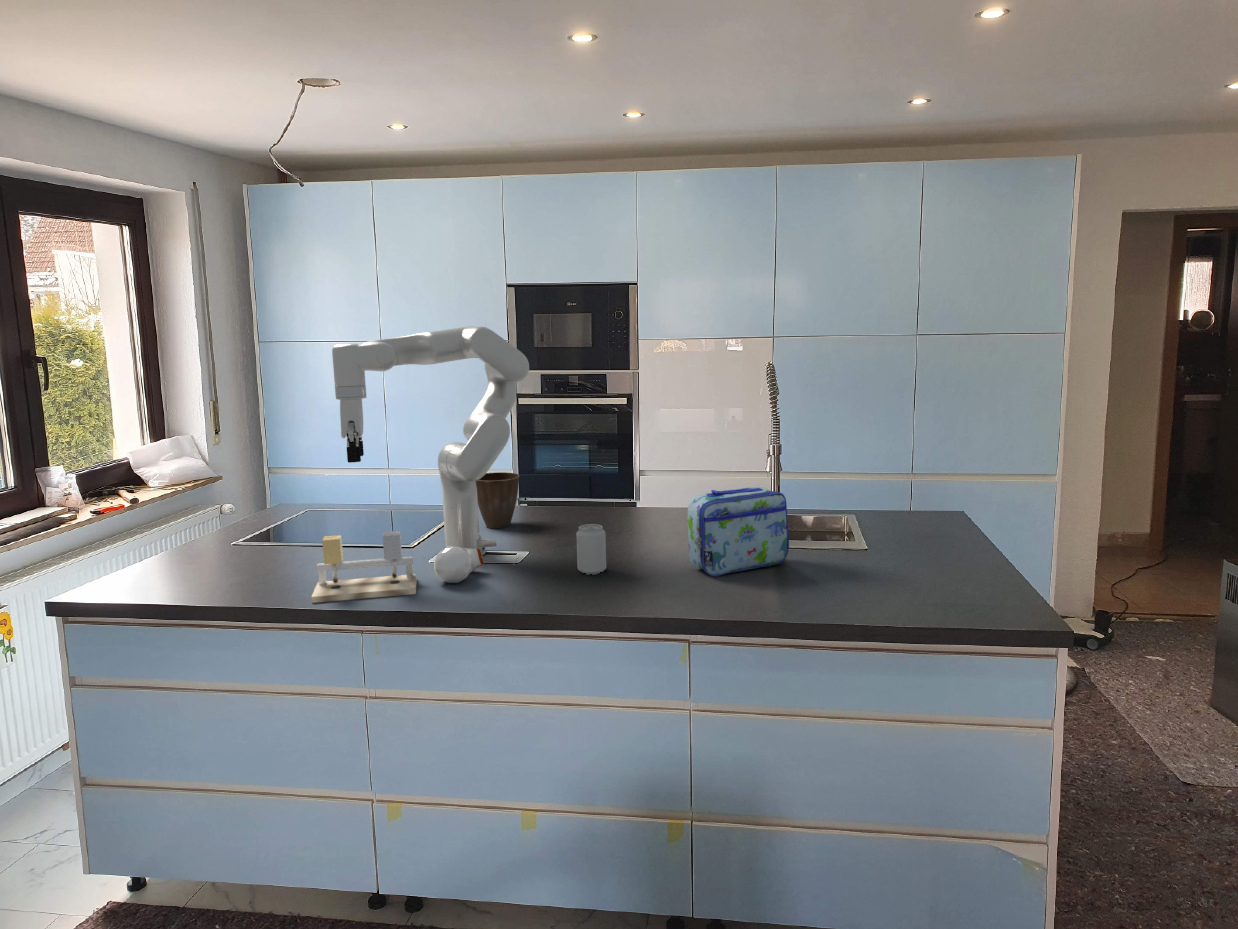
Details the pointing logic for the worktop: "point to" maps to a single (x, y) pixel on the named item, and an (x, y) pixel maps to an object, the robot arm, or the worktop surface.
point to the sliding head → (333, 553)
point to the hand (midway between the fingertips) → (355, 459)
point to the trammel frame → (390, 559)
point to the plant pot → (497, 498)
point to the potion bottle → (456, 563)
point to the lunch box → (737, 530)
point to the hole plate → (364, 588)
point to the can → (591, 549)
